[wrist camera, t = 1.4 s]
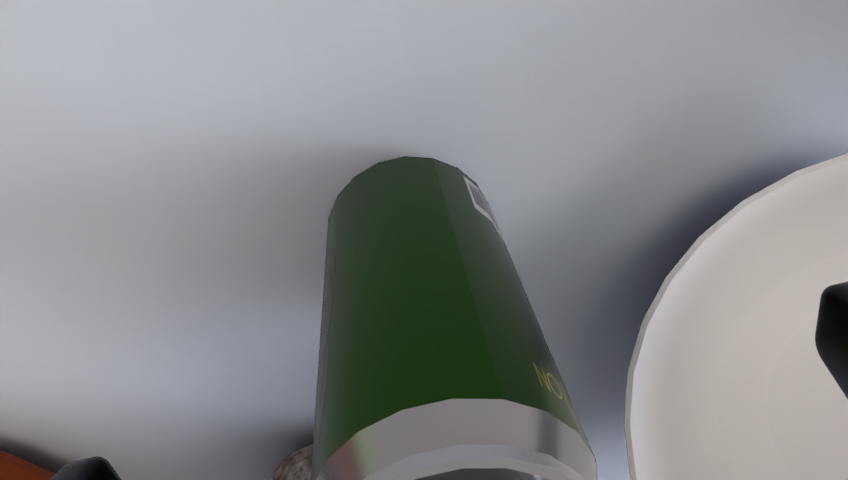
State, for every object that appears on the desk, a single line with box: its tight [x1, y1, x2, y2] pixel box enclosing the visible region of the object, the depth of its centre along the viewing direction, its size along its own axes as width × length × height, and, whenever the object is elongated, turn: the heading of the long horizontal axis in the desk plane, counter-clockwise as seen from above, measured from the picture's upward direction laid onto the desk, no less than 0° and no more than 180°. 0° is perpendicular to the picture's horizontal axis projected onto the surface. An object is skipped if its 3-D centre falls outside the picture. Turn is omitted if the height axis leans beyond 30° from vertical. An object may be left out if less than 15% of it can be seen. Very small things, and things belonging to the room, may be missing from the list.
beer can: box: [311, 157, 597, 480], centre depth 16 cm, size 5×5×12 cm
